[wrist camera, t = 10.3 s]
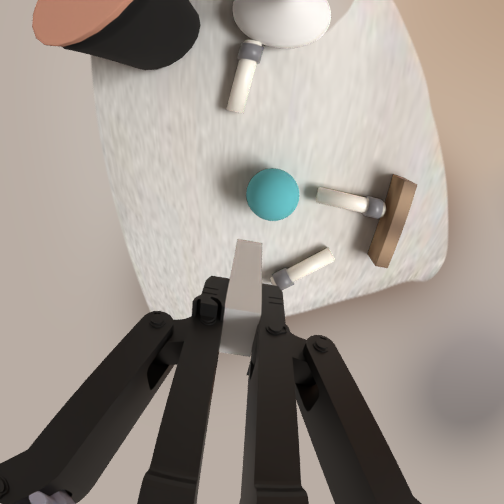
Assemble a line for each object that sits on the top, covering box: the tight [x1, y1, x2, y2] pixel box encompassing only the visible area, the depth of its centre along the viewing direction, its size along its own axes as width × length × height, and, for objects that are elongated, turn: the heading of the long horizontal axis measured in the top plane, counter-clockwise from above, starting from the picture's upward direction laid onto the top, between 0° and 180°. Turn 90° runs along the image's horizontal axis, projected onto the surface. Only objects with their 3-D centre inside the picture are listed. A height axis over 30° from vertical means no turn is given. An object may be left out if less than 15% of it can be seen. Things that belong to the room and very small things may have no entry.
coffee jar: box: [32, 0, 200, 70], centre depth 16 cm, size 11×11×18 cm
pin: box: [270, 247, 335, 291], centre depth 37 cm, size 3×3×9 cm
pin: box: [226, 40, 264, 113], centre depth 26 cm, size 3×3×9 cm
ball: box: [246, 168, 299, 221], centre depth 31 cm, size 6×6×6 cm
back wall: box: [367, 174, 417, 268], centre depth 33 cm, size 12×2×4 cm, turn 170°
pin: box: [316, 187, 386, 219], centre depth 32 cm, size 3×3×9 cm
